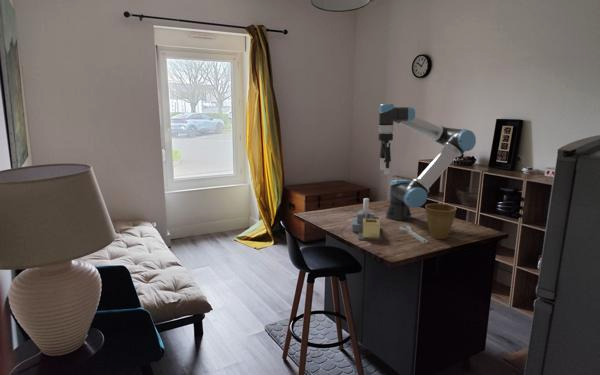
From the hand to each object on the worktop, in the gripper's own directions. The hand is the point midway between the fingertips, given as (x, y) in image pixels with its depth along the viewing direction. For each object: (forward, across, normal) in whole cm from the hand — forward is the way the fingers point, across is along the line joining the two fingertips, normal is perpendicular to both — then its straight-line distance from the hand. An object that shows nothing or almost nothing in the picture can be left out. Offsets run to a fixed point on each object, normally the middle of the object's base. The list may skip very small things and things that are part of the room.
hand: (384, 171), depth 213 cm
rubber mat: (+30, +22, -10) cm, 38 cm away
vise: (+30, +9, -11) cm, 33 cm away
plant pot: (+31, +18, +25) cm, 44 cm away
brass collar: (+29, +22, -10) cm, 38 cm away
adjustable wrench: (+31, +17, +12) cm, 38 cm away
